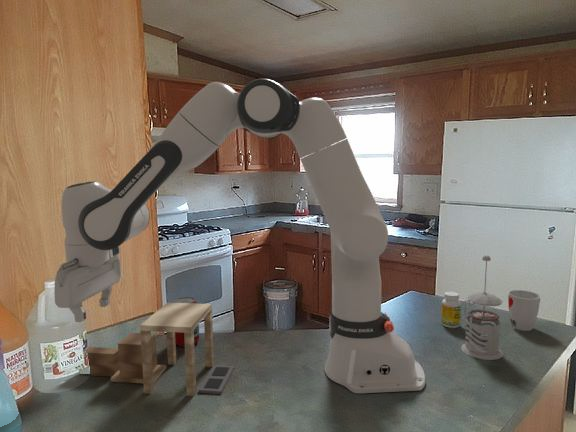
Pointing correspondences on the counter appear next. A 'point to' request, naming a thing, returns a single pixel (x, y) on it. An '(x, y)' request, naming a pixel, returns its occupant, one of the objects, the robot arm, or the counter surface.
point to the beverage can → (180, 335)
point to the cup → (523, 309)
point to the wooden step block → (123, 360)
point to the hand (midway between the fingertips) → (93, 313)
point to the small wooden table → (172, 321)
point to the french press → (477, 344)
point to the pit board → (216, 379)
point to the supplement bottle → (451, 310)
